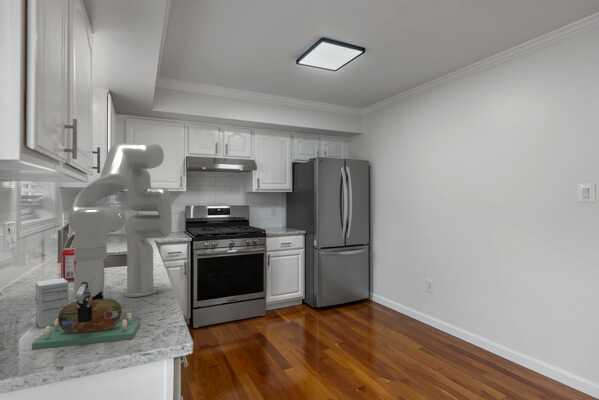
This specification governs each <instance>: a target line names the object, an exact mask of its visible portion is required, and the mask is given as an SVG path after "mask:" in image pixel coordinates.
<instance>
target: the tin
mask: <svg viewBox="0 0 599 400" xmlns="http://www.w3.org/2000/svg"><path fill="white" fill-rule="evenodd" d="M86 300H87V302H88V299H86ZM90 306H92V321H91V322H82V323H78V308H77V301H74V302H71V303H68V305H67V306H65V307H64V308H63V309H62V310H61V312H60V314H59V317H58V323H59V326H60V328H61V329H62V330H64V331H65V332H67V333H71V334H77V333H86V332H95V331H105V330H109V329H111V328H112V327H114V326H115V325H116V324H117V323H118V322H120V321H121V318H122V316H123V315H122V314H123V310H122V306H121V304H120V303H119V302H118V301H117V300H116V299H113V298H103V299H97V300H92V301H91V305H90Z"/></svg>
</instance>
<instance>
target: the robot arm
mask: <svg viewBox="0 0 599 400" xmlns="http://www.w3.org/2000/svg"><path fill="white" fill-rule="evenodd" d="M164 158H165V154H164V150H163V147H162V146H161V145H159V144H158V143H138V142H137V143H136V142H123V143H117V144H114V145H112V146H111V147H110V148H109V150H108V153H107V155H106V158H105V162H104V164H103V166H102V170H101V173H100V175H99V177H98V178H97V179H95V180H94V181H91V182H90V183H89V184H88V185H87V186H85V187H84V188H82V189H81V190H80V191H79V192H78V193H77V194H76V196H75V198H74V200H73V202H72V205H71V208H70V211H69V214H68V225H69V227H70V229H71V230H72V231H73V232H74V233H73V237H74V238H73V241H74V247H73V248H74V260H75V261H77V262H76V266H75V275H74V281H73V298H74V299H75V300H77V308H78V323H82V322H91V321H92V306H90V305H91V301H92V300H97V299H104V287H105V262H104V260H105V259H107V258H108V257H107V256H108V255H107V254H108V253H107V247H108V246H107V233H115V232H118V231H121V229H122V228H124V233H125V237H126V284H127V285H126V289H124V290H123V291H122V296H124V297H126V298H127V297H128V298H139V297H146V296H150V295H151V296H152V295H154V294H155V293H157V292H158V287H157V286H154V247H153V245H152V244H151V242H150V241H149V239H163V238H168V237H169V236H170V235H171V233H172V229H173V220H172V216H173V215H172V212H173V211H172V195H171V193H170V191H169V190H168V189H167V188H165V187H153V186H152V184H151V183H152V182H151V174H150V172H149V171H148V169H155V168H158V167H160V166H162V163H163V162H164ZM125 190H127V191H126V193H127V204H128V207H129V209H130V211H131V210H132V211H134V212H157V213H158V214H156V213H155V214H148V213H146V214H143V213H142V214H133V215H130V216H128V217H127V218H126V215H125V213H124V212H123V210H122V209H121V208H118V207H113V206H107V207H106V206H93V205H94V204H95V203H97V202H98V201H100V200H103V199H105V198H107V197H110V196H114V195H115V194H118V193H121V192H123V191H125ZM87 300H88V302H87Z"/></svg>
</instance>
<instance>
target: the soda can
mask: <svg viewBox="0 0 599 400" xmlns="http://www.w3.org/2000/svg"><path fill="white" fill-rule="evenodd" d="M76 262H77V261H75V260H74V247H66V248H62V250H61V252H60V278H64V279H65V280H66V281H68V283H74V275H75V266H76Z"/></svg>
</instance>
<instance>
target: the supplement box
mask: <svg viewBox="0 0 599 400" xmlns="http://www.w3.org/2000/svg"><path fill="white" fill-rule="evenodd" d="M68 304H69V282H68V281H66V280H65V279H64V278H61V277H60V278H51V279H46V280H38V281H35V323H36V324H37V325H38V328H39V329H43V328H44V329H45V328H46V327H47V326H50V327H53V326H54V321H55V320H56V319H58V317H59V314H60V312H61V310H62V309H63V308H64V307H65V306H67V305H68Z"/></svg>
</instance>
